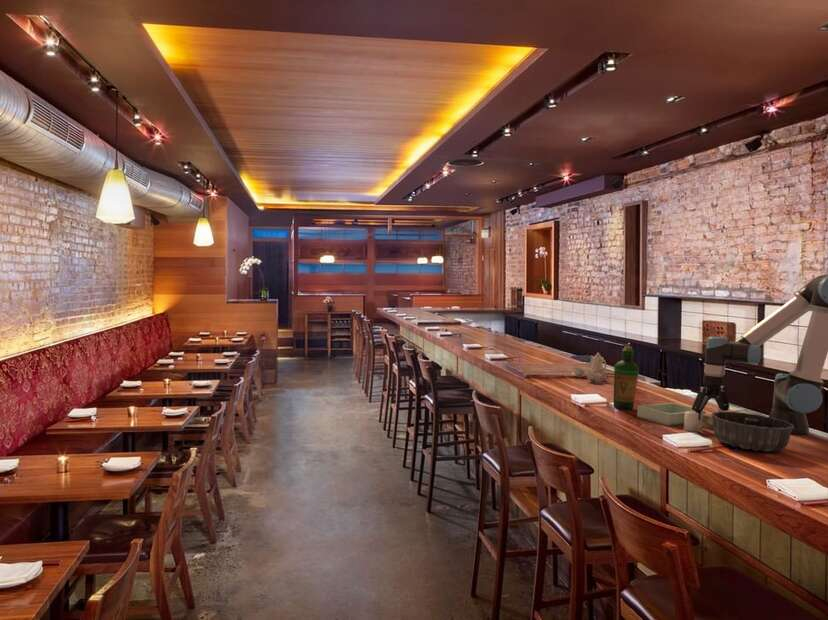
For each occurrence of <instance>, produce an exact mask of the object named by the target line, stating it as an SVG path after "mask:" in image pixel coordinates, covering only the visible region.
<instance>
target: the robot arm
mask: <svg viewBox="0 0 828 620" xmlns="http://www.w3.org/2000/svg"><path fill="white" fill-rule="evenodd" d="M808 312H811V315H810V319H809V322H808V325H807V329H806V332H805V335H804V339H803V342H802V345H801V349H800V351H799V354H798V359H797V361H796V365H795V368H794V370H793V371H791V372H789V373H777V374H775V378H774V381H773V382H774V386H773V387H774V388H773V398H772V399H773V400H772V408H771V411H770V413H769V415H768V417H772V418H775V419H779V420H783V421H786V422H788V423H791V424H793V426H794V428H793V429H792V431H791V434H792V435H808V434H810V433H809V432H810V426H809V423H808V419H807V415H806V414H809V413H813V412H815V411H817V410H818V409H819V408H820V406H821V405H822V403H823V394H822V389H823V386H824V381H823V378H821V376H822V372H823V369H824V367H825V363H826V359H827V357H828V274H822V275H818V276H816V277H814V278H812V279H811V280H810V281H809V282H808V283H806V284H805V285H804V286H803V287H802V288H800V289H799V290H797V291H796V292H794V296H793V298H791V299H790V300H788V301H787V302H786V303H784V304H783V305H781V306H780V307H779V308H777V309H776V310H775V311H774V312H772V313H771V314H769V315H768V316H766V317H765V318H763V320H761V321H760V322H758V323H757V324H756V325H754V326H753V327H751V328H750V329H749V330H747V331H746V332H744V333H743V334H741V336H739V337H738V338H736V339H735V340H731V341H728V338H727V337H722V336H708V338H707V340H706V345H705V358H704V368H703V372H704V374H703V378H702V379H703V380H702V383H703V384H704V385H705V386H704V387H702V386H699V387H698V392H697V394H696V396H695V400H694V401H693V405H692V406H691V408H692V410H693V411H695V412H697V413H699V418H698V429H700V430H701V429H703V427H702V420H703V412H702V410H703V411H704V408H705V407H706V405H707V404H708V402H709V401H710V400H711V399H714V401H715V402H716V404H717V407H718V408H719V409H718V408H717V412H729V409H730V403H729V398H728V395H727V387H726V386H724V383H725V377H724V376H725V374H726V362H727V363H729V362H730V363H738V364H748V365H758V364H759V363H760V362H761V358H762V349H761V347H760V346H761V345H764V344H765V343H767V341H769V340H771V339H772V338H773V337H774V336H776V335H777V334H779V333H780V332H781V331H783V330H785V329H786V328H787V327H789V326H790V325H791V324H792V323H794V322H795V321H797V320H798V319H799V318H801V317H803V316H804V315H805V314H807V313H808Z"/></svg>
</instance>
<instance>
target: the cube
mask: <svg viewBox="0 0 828 620" xmlns="http://www.w3.org/2000/svg"><path fill="white" fill-rule="evenodd" d="M711 415H712V413H705V414H703V420H702V428H704V429H705V428H706V429H709V430H714V429H713V417H711Z"/></svg>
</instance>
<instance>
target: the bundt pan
mask: <svg viewBox="0 0 828 620" xmlns="http://www.w3.org/2000/svg"><path fill="white" fill-rule="evenodd" d="M711 414H712V415H711V417H713V429H712V430H713V434H714V436H715V438H716V439H717V440H718V441H719V442H722V443H724V444H725V445H728V446H731V447H732V448H740V449H742V450H750V449H751V450H752V451H753V452H757V451H761V452H764V453H769V452H770V453H776V452H778V451H781V450H783V449H785V448H786V447H787V446H788V444H789V442H790V437H791V431H792V429H793V428H794V426H793V424H791V423H788V422H786V421H783V420H779V419H775V418H772V417H769V416H765V415H762V414H754V413H746V412H738V411H737V412H736V411H725V412H718V411H716V412H715V411H714V412H712V413H711Z"/></svg>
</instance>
